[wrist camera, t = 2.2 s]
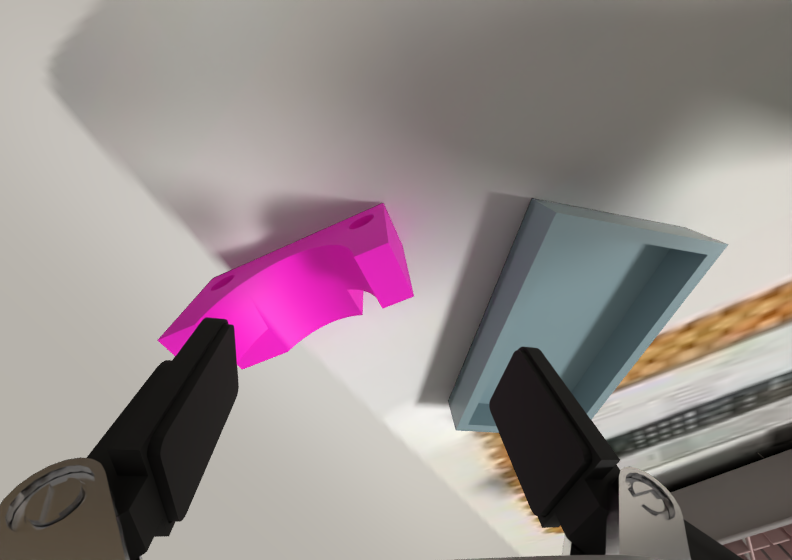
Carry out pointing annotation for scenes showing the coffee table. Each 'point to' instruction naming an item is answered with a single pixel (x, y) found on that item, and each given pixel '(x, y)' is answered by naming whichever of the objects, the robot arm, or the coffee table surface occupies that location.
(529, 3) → the coffee table surface
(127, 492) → the robot arm
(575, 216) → the slate tray
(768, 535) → the organizer tray
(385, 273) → the toy block
